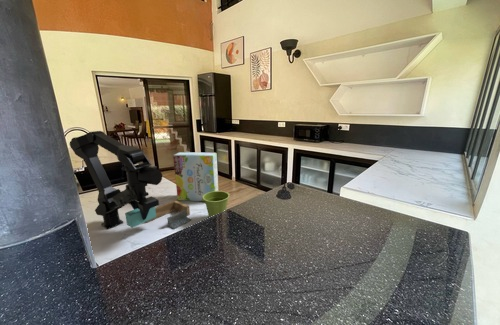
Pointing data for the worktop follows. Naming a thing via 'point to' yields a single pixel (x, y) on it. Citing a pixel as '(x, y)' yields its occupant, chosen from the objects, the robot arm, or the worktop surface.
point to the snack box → (195, 175)
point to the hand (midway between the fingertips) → (141, 217)
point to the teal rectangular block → (138, 217)
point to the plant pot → (216, 202)
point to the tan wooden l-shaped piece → (170, 209)
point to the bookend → (178, 219)
